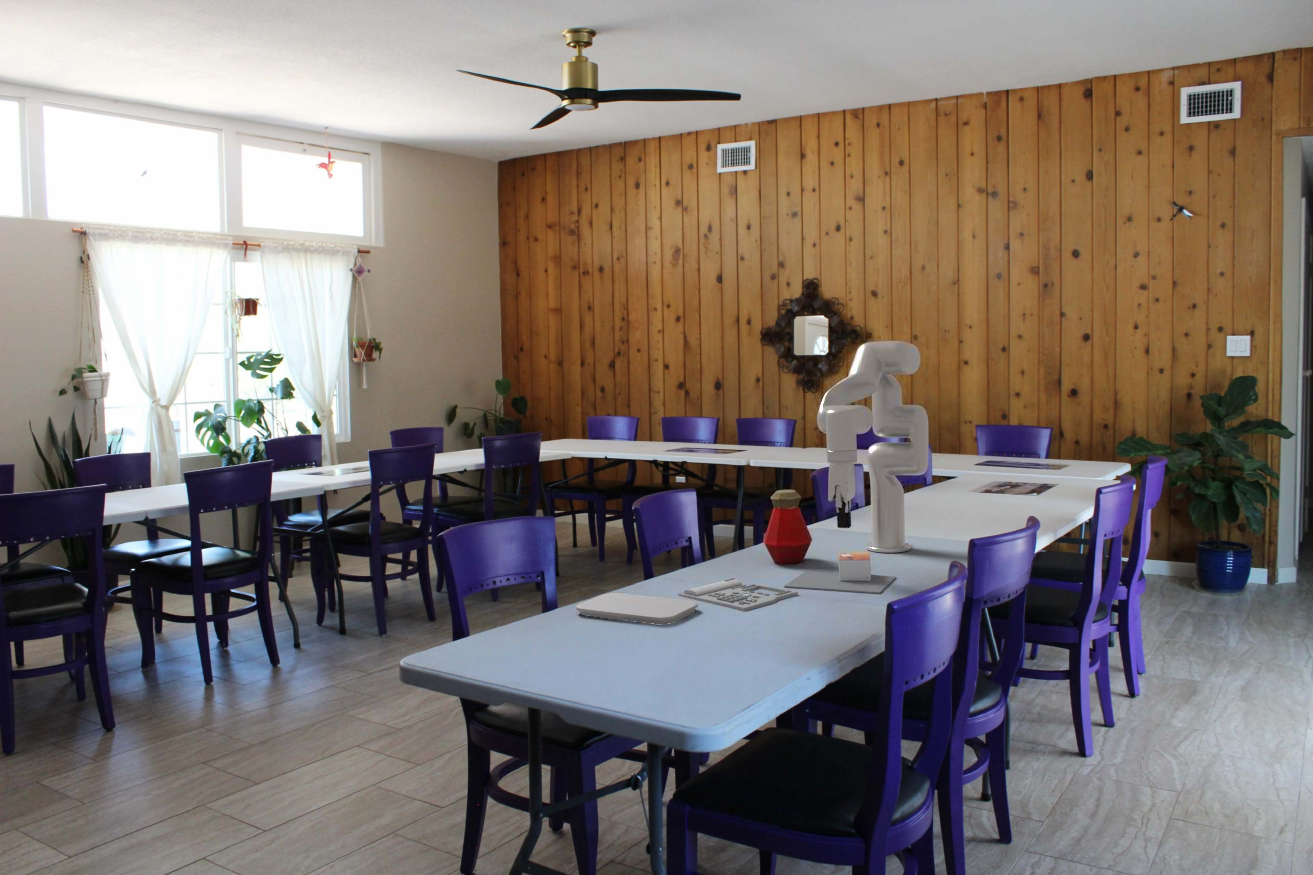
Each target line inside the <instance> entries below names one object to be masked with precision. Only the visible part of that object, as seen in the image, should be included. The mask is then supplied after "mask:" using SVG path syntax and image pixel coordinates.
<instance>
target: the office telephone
mask: <svg viewBox="0 0 1313 875" xmlns="http://www.w3.org/2000/svg"><path fill="white" fill-rule="evenodd" d="M758 589H760V590H761V589H762V590H767V591H771V592H776V593H775V594H770V593H763V592H761V591H760V592H759V591H758V592H757V591H755V590H758ZM798 594H799V593H798V591H797V590H793V589H790V588H785V587H784V588H782V587H778V586H773V585H766V584H761V583H753V584H748V585H747V584H746V583H743V582H741V581H740V580H738V579H736V578H734V577H733V578H730V579H725V580H721V581H717V582H713V583H710V584H705V585H701V586H698V587H693V588H688V589H686V590H684V591H683V592H678V593H677V595H678V596H680V597H683V598H688V599H690V600H694V601H695V600H696V601H700V602H705V603H708V604H714V605H717V606H721V607H726V608H730V609H734V610H738V611H741V612H747V611H751V610H753V609H757V608H758V609H759V608H761V607H765V606H768V605H771V604H774V603H776V601H777V602H778V601H781V600H784V599H787V598H791V597H794V596H798Z"/></svg>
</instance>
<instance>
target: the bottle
mask: <svg viewBox="0 0 1313 875" xmlns="http://www.w3.org/2000/svg"><path fill="white" fill-rule="evenodd" d="M801 499H802V496H801V495H800V494H799V493H798V492H797V491H796V490H795V489H781V490H780V489H779V490H776V491H775V492H774V493H773V494H772V495H771V496H770V500H771V503H772V505H773V508H772V513H771V514H770V519H769V522H768V525H767V529H766V531H765V535H764V539H763V541H762V542H763V544H764V546H765V548H766V549H767V552H768V554H769V556H770V558H771V559H772V561H773V563H774V564H776V565H777V564H778V565H787V566H788V565H795V564H800V563H802V562H803V561H804V560H805V558H806V555H807V553H808V550H809V548H810V546H811V544H812V542H813V537H812V536H811V533H810V530H809V528H808V526H807V524H806V521H805V519H804V517H803V514H802V511H801V509H800V507H799V505H800V502H801Z"/></svg>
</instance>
